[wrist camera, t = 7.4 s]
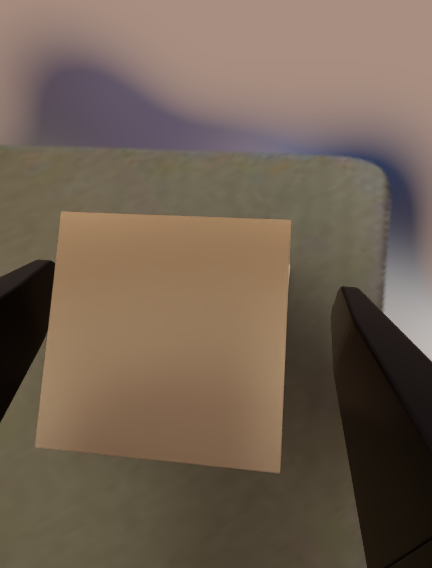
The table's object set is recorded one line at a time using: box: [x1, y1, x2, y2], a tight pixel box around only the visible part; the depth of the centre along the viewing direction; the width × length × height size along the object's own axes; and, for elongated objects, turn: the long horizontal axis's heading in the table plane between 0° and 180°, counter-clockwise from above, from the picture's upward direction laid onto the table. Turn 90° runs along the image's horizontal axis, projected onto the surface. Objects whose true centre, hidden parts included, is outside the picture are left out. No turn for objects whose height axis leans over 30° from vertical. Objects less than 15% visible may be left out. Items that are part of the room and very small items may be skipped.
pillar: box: [35, 212, 291, 473], centre depth 12 cm, size 4×4×10 cm
